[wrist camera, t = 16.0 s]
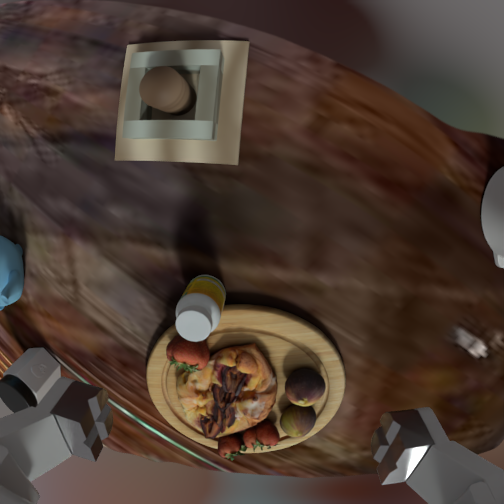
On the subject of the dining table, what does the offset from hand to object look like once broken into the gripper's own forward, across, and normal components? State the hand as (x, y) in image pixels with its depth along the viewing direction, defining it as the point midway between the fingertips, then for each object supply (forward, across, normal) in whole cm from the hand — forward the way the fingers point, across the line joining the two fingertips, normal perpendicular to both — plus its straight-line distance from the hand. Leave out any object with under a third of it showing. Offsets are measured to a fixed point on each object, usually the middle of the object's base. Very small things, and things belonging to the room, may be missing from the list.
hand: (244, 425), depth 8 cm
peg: (+32, +11, -14) cm, 37 cm away
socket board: (+33, +11, -14) cm, 38 cm away
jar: (+33, +38, +31) cm, 59 cm away
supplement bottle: (+33, +6, +11) cm, 36 cm away
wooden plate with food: (+34, 0, +28) cm, 44 cm away
